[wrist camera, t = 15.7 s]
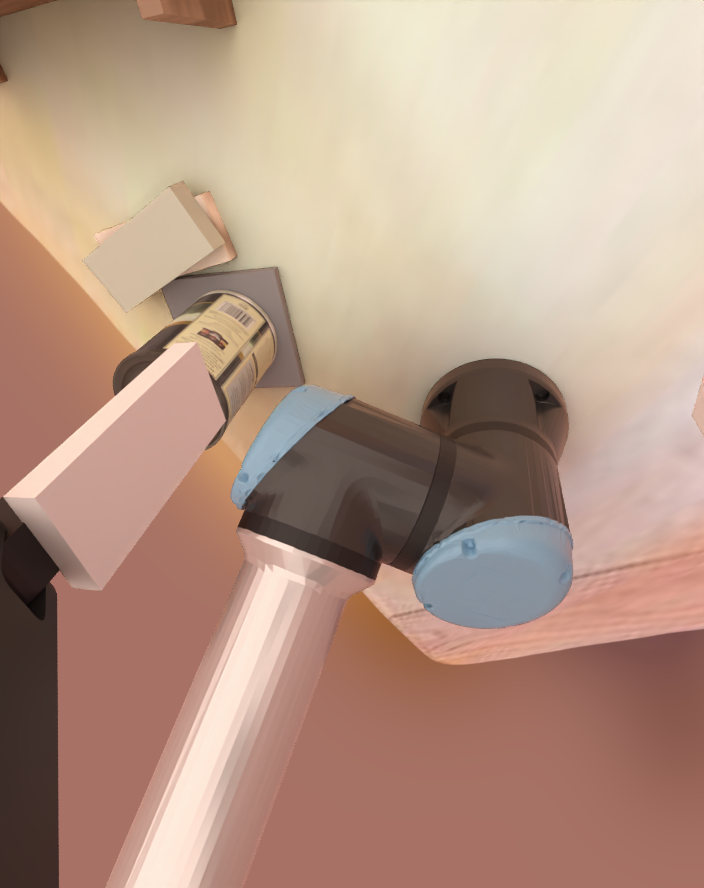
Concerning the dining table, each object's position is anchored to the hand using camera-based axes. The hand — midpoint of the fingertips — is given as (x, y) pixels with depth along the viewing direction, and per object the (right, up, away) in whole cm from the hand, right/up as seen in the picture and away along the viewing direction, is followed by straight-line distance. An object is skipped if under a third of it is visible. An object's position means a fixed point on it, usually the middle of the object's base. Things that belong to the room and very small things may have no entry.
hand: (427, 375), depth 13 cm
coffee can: (-15, +10, +40) cm, 44 cm away
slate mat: (-15, +10, +41) cm, 45 cm away
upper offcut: (-21, +17, +35) cm, 44 cm away
